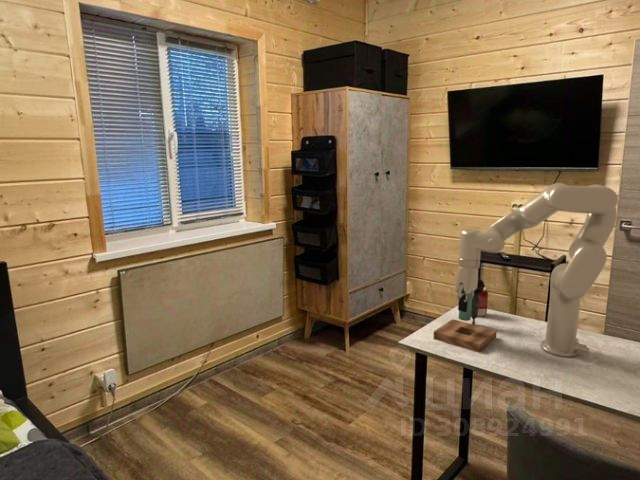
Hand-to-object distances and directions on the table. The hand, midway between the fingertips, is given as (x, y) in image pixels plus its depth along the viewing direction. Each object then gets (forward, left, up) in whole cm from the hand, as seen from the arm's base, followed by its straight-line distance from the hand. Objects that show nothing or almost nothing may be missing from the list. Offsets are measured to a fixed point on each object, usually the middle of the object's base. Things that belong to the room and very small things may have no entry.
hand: (465, 308), depth 172 cm
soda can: (+6, -27, -12) cm, 30 cm away
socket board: (0, 0, -12) cm, 12 cm away
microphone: (+3, -15, -12) cm, 20 cm away
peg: (0, 0, -4) cm, 4 cm away
